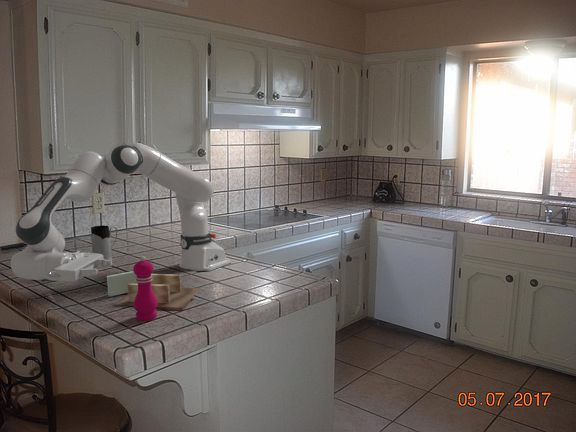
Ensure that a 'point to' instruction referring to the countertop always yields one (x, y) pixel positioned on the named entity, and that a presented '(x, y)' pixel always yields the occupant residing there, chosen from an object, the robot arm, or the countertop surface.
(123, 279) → the gate
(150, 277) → the pepper mill
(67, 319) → the countertop surface
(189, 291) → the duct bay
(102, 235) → the grey black mug
